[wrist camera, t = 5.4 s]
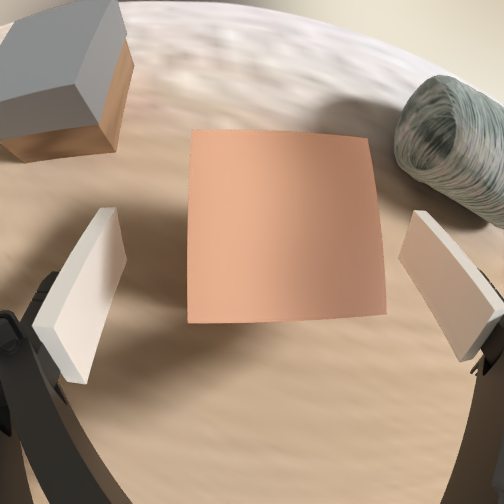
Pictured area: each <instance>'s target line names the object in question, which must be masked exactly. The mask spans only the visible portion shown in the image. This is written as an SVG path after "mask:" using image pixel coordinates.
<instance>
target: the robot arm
mask: <svg viewBox="0 0 504 504" xmlns="http://www.w3.org/2000/svg"><path fill="white" fill-rule="evenodd" d="M398 259H399V260H400V262H401V263H402V265H403V266H404V268H405V269H406V271H407V273H408V274H409V276H410V277H411V279H412V280H413V282H414V284H415V285H416V287H417V288H418V290H419V292H420V293H421V295H422V297H423V298H424V300H425V302H426V303H427V305H428V307H429V308H430V310H431V312H432V313H433V315H434V317H435V319H436V320H437V322H438V324H439V326H440V327H441V329H442V331H443V333H444V335H445V336H446V338H447V340H448V342H449V344H450V346H451V347H452V349H453V351H454V353H455V355H456V357H457V359H458V361H459V362H463V361H467V360H470V359H473V358H474V356H475V355H476V354H477V352H478V351H479V350H480V348H481V350H482V352H483V355H482V357H481V358H480V359H479V361H478V362H477V363H476V364H475V366H474V367H473V368H472V370H471V372H470V373H471V374H472V373H473V372H474V371H475V370H476V369H478V372H477V373H476V374H475V376H477V378H476V384H475V389H474V394H473V399H472V404H471V408H470V413H469V417H468V421H467V425H466V429H465V433H464V436H463V440H462V443H461V447H460V450H459V453H458V456H457V460H456V463H455V466H454V469H453V471H452V474H451V477H450V480H449V483H448V485H447V488H446V490H445V493H444V496H443V498H442V500H441V503H440V504H504V299H503V297H502V296H501V295H500V293H499V292H498V291H497V289H495V287H494V286H493V284H492V283H490V280H489V279H488V278H487V277H486V275H485V274H484V273H483V272H482V271H481V270H479V269H478V268H477V267H476V266H475V265H474V264H473V263H472V261H471V260H470V259H469V258H468V257H467V255H466V254H465V253H464V252H463V251H462V250H461V248H460V247H459V246H458V245H457V244H456V243H455V242H454V240H453V239H452V238H451V237H450V236H449V235H448V234H447V233H446V232H445V230H444V229H443V228H442V227H441V226H440V225H439V224H438V223H437V222H436V221H435V220H434V219H433V218H432V217H431V215H430V214H429V213H428V212H427V211H419V210H413V214H412V217H411V220H410V224H409V227H408V230H407V233H406V236H405V239H404V242H403V245H402V248H401V251H400V254H399V257H398ZM126 262H127V258H126V253H125V249H124V244H123V239H122V234H121V229H120V224H119V219H118V213H117V208H116V207H109V208H100V209H99V210H98V212H97V213H96V215H95V216H94V218H93V219H92V221H91V222H90V224H89V225H88V227H87V228H86V230H85V231H84V233H83V235H82V236H81V238H80V239H79V241H78V243H77V244H76V246H75V247H74V249H73V251H72V252H71V254H70V256H69V257H68V259H67V261H66V262H65V264H64V266H63V268H62V269H61V271H60V272H52V273H50V274H49V275H48V276H47V277H46V278H45V279H44V280H43V281H42V283H41V285H40V286H39V288H38V290H37V293H35V295H34V297H33V299H32V301H31V302H30V304H29V306H28V308H27V310H26V312H25V314H24V315H23V317H22V319H21V321H20V323H19V321H18V320H17V318H16V316H15V314H14V313H13V312H11V311H9V310H2V311H0V504H34V503H33V500H32V496H31V492H30V488H29V484H28V480H27V476H26V471H25V467H24V462H23V456H22V451H21V445H20V441H21V444H22V446H23V449H24V451H25V453H26V456H27V458H28V460H29V463H30V465H31V467H32V469H33V471H34V474H35V476H36V478H37V480H38V482H39V484H40V486H41V488H42V490H43V492H44V494H45V496H46V497H47V499H48V501H49V503H50V504H132V502H131V501H130V500H129V498H128V497H127V496H126V494H125V493H124V492H123V490H122V489H121V488H120V486H119V485H118V483H117V482H116V481H115V479H114V478H113V476H112V475H111V473H110V472H109V470H108V469H107V467H106V466H105V464H104V463H103V461H102V460H101V458H100V457H99V455H98V454H97V452H96V450H95V449H94V447H93V445H92V444H91V442H90V440H89V439H88V437H87V435H86V434H85V432H84V430H83V428H82V427H81V425H80V423H79V421H78V419H77V417H76V416H75V414H74V412H73V410H72V408H71V406H70V404H69V402H68V400H67V398H66V396H65V394H64V392H63V390H62V388H61V386H60V385H59V383H58V382H57V380H58V377H59V374H60V372H61V374H62V375H63V377H64V378H65V379H66V381H67V382H73V383H80V384H87V381H88V377H89V374H90V370H91V366H92V363H93V359H94V356H95V353H96V349H97V346H98V343H99V339H100V336H101V333H102V330H103V327H104V324H105V321H106V318H107V315H108V312H109V309H110V306H111V303H112V300H113V297H114V294H115V292H116V289H117V286H118V283H119V281H120V278H121V275H122V273H123V270H124V267H125V265H126Z"/></svg>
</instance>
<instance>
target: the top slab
mask: <svg viewBox="0 0 504 504" xmlns="http://www.w3.org/2000/svg"><path fill="white" fill-rule="evenodd" d="M126 35H127V31H126V28H125V25H124V21H123V18H122V15H121V11H120V8H119V4H118V1H117V0H80V1H76V2H73V3H68V4H65V5H61V6H58V7H55V8H52V9H48V10H45V11H42V12H39V13H36V14H33V15H31V16H28V17H25V18H22V19H20V20H17V21H15V22H14V24H13V25H12V27H11V29H10V30H9V32H8V33H7V35H6V37H5V38H4V40H3V42H2V43H1V45H0V141H1V140H6V139H11V138H15V137H20V136H26V135H31V134H36V133H42V132H48V131H55V130H61V129H68V128H76V127H84V126H92V125H100V121H101V117H102V113H103V109H104V105H105V101H106V97H107V94H108V90H109V87H110V83H111V80H112V77H113V74H114V70H115V67H116V64H117V61H118V58H119V55H120V52H121V49H122V46H123V44H124V41H125V38H126Z"/></svg>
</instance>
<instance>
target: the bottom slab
mask: <svg viewBox="0 0 504 504" xmlns="http://www.w3.org/2000/svg"><path fill="white" fill-rule="evenodd" d="M133 69H134V63H133V60H132V57H131V54H130V51H129V48H128V45H127V41H126V38H125V41H124V44H123V46H122V49H121V52H120V55H119V58H118V61H117V64H116V67H115V70H114V74H113V77H112V80H111V83H110V87H109V90H108V94H107V97H106V101H105V105H104V109H103V113H102V117H101V121H100V125H92V126H84V127H76V128H68V129H61V130H55V131H48V132H42V133H36V134H31V135H26V136H20V137H15V138H11V139H6V140H1V141H0V144H1V145H2V146H4V147H5V148H6V149H7V150H8V151H10V152H11V153H12V154H13V155H15V156H16V157H17V158H18V159H19V160H21V161H22V162H23V163H30V162H37V161H43V160H50V159H58V158H66V157H74V156H83V155H92V154H103V153H114V152H116V150H117V144H118V138H119V133H120V128H121V122H122V117H123V112H124V108H125V103H126V98H127V94H128V90H129V85H130V81H131V77H132V73H133Z"/></svg>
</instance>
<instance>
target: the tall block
mask: <svg viewBox="0 0 504 504" xmlns="http://www.w3.org/2000/svg"><path fill="white" fill-rule="evenodd" d="M187 312H188V323H254V322H282V321H303V320H321V319H336V318H350V317H362V316H374V315H384V314H387V312H386V287H385V270H384V256H383V244H382V234H381V224H380V216H379V207H378V199H377V192H376V185H375V178H374V172H373V166H372V160H371V154H370V148H369V143H368V138H362V137H353V136H344V135H333V134H321V133H308V132H291V131H268V130H192V137H191V154H190V173H189V198H188V236H187Z"/></svg>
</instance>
